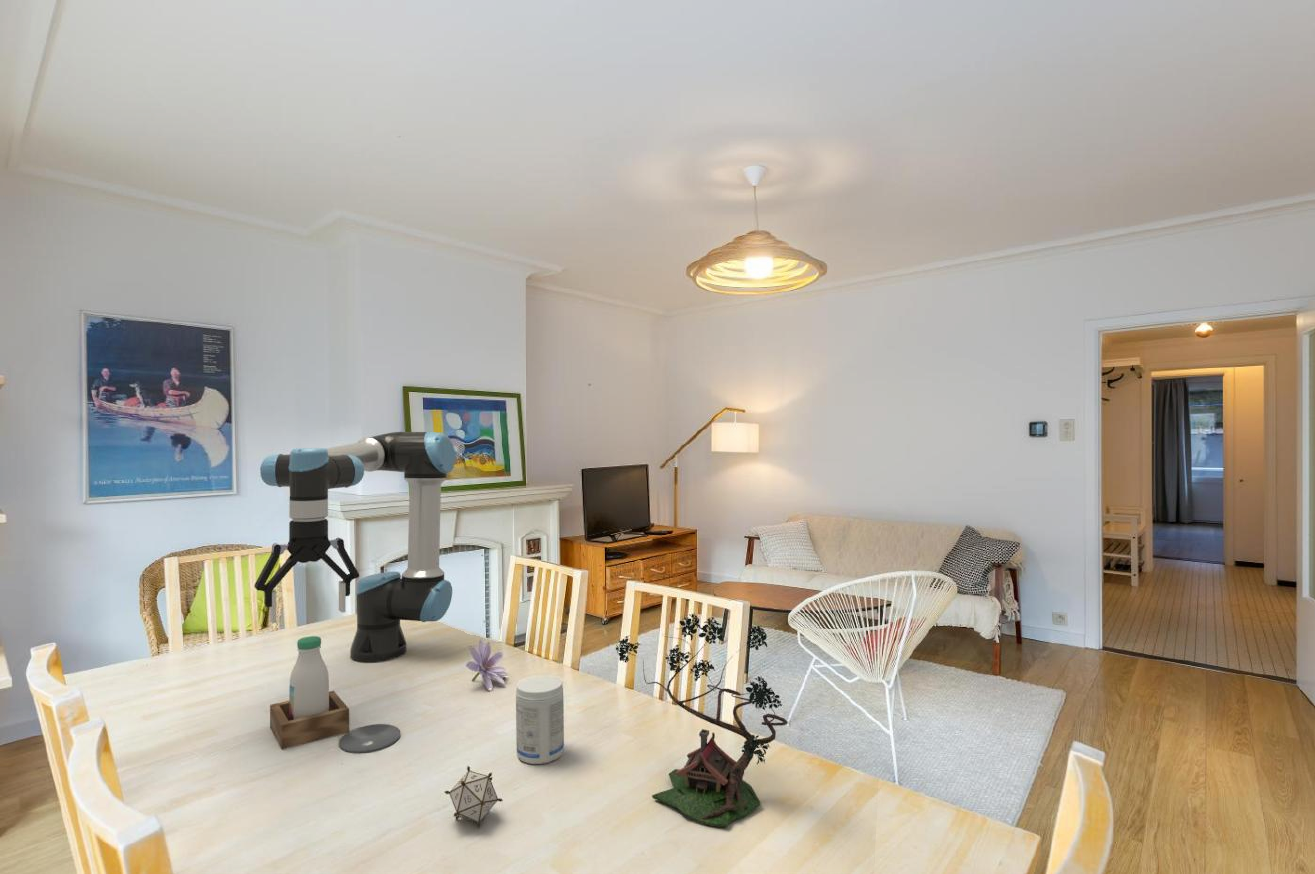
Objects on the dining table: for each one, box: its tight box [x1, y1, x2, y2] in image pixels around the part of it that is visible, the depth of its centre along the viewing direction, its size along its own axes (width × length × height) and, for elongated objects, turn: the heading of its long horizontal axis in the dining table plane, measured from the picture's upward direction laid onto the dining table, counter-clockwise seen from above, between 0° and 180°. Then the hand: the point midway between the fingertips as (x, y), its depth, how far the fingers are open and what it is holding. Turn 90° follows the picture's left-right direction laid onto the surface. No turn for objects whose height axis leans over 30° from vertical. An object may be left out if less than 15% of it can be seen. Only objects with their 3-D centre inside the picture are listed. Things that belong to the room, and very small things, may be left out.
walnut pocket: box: [269, 690, 350, 750], centre depth 148 cm, size 13×13×5 cm
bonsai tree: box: [615, 613, 789, 828], centre depth 126 cm, size 35×24×32 cm
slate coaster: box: [338, 723, 401, 754], centre depth 143 cm, size 12×12×1 cm
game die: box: [444, 765, 504, 829], centre depth 114 cm, size 9×8×10 cm
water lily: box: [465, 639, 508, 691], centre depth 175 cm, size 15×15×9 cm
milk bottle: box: [288, 635, 330, 721], centre depth 147 cm, size 8×8×20 cm
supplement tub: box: [515, 674, 565, 765], centre depth 137 cm, size 10×10×15 cm
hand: (308, 616), depth 147 cm, fingers open, 13 cm apart
